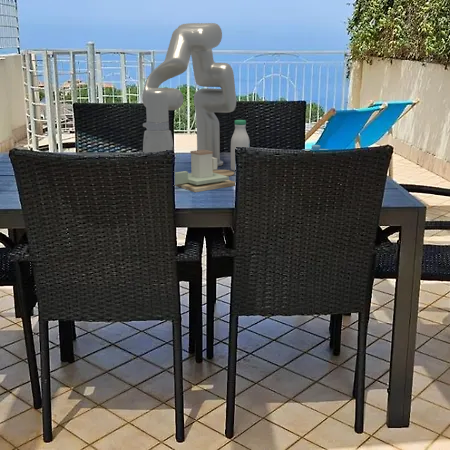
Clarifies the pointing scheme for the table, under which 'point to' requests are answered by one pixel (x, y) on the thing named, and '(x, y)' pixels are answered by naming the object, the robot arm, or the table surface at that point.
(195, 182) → the green piece
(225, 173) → the mat
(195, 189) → the stand
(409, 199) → the table surface
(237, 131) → the milk bottle
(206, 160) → the box with copper trim
